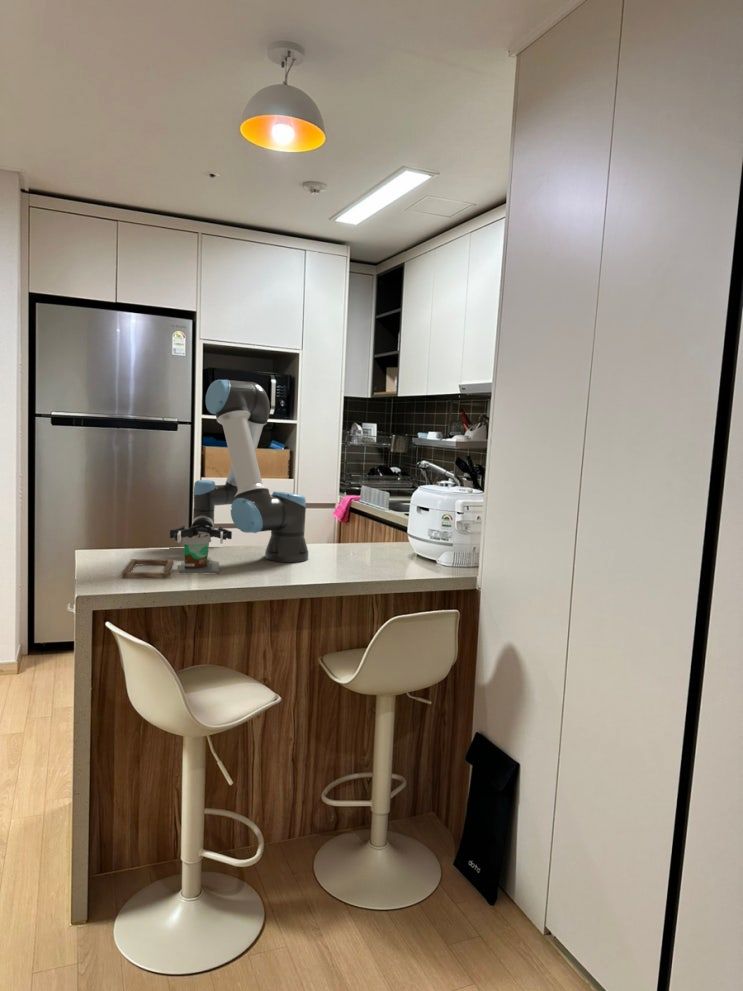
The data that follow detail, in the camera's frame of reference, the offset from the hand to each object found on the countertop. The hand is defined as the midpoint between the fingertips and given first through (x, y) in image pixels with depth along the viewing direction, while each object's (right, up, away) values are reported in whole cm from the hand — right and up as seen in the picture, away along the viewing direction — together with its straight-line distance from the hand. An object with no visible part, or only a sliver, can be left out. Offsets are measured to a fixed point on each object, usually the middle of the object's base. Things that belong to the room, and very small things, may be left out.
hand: (200, 539), depth 224 cm
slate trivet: (+1, -9, -5) cm, 10 cm away
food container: (+1, -8, -5) cm, 10 cm away
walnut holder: (-13, -9, -11) cm, 19 cm away
